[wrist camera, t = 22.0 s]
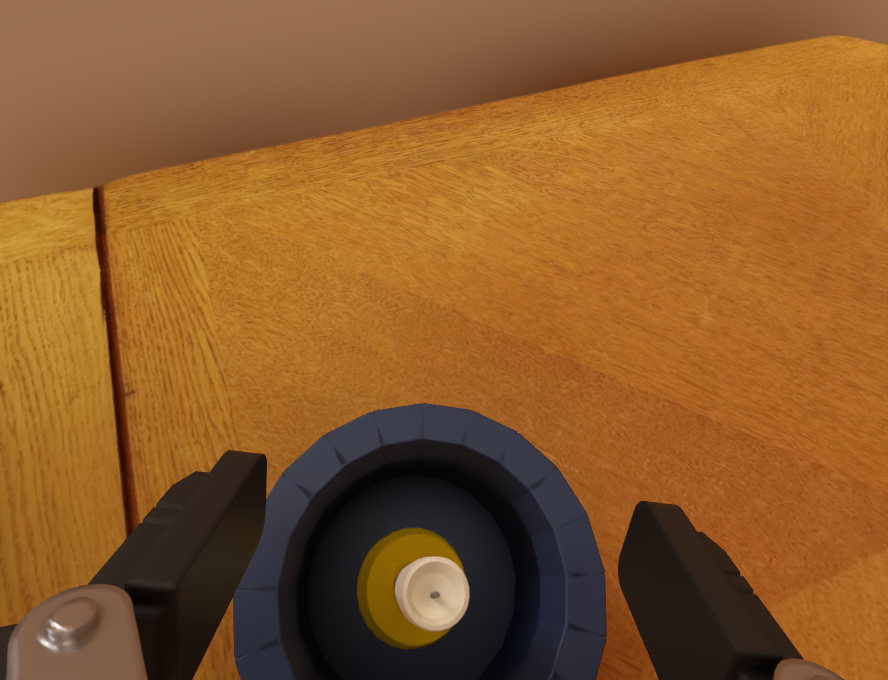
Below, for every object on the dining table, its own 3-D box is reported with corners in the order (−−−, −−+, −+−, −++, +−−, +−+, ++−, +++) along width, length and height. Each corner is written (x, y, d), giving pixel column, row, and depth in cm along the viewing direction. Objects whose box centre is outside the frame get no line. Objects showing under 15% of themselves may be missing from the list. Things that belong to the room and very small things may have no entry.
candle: (421, 675, 23) (469, 827, 9) (334, 598, 24) (250, 625, 10) (485, 573, 25) (607, 564, 11) (403, 506, 26) (416, 419, 12)
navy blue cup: (307, 748, 22) (238, 887, 12) (289, 488, 26) (228, 433, 16) (549, 683, 24) (662, 758, 14) (493, 451, 28) (548, 382, 18)
